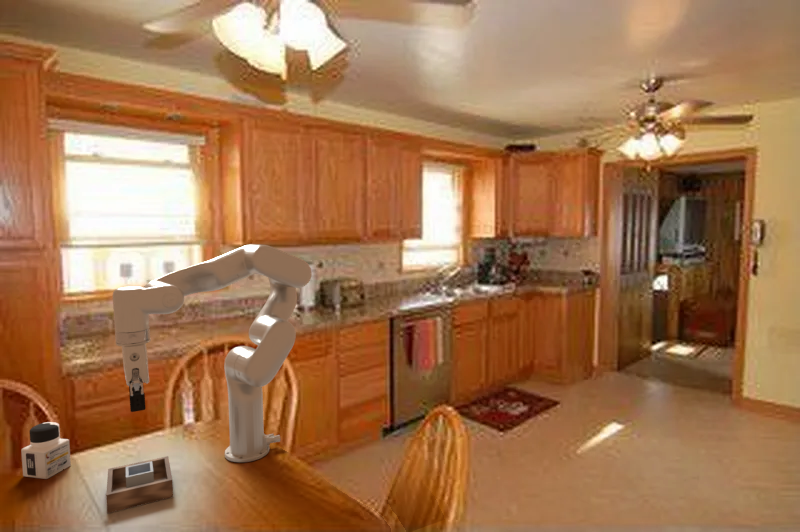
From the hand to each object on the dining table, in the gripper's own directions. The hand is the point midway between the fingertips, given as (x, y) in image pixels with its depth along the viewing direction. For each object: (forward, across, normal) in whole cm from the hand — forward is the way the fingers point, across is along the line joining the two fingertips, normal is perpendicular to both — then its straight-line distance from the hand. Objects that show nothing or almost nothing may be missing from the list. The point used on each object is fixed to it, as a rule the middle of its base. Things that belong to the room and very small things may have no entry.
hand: (137, 404), depth 123 cm
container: (+22, +24, +22) cm, 40 cm away
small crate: (+22, -1, +1) cm, 22 cm away
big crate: (+22, -1, +1) cm, 22 cm away
